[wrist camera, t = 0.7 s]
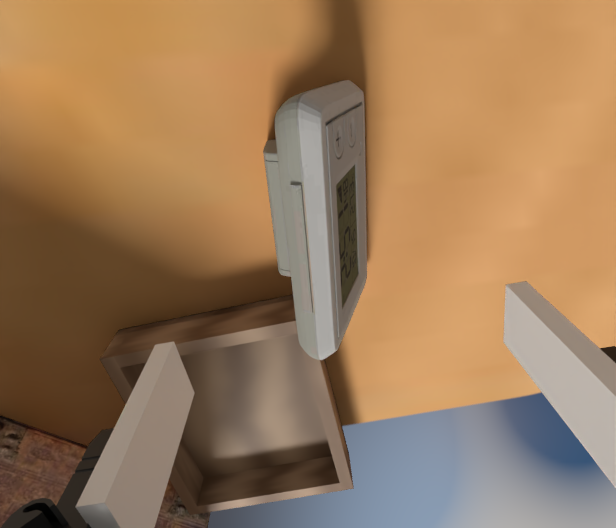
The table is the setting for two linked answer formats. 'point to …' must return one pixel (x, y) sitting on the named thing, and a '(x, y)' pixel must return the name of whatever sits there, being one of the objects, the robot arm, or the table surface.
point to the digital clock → (320, 209)
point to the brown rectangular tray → (244, 406)
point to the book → (60, 474)
